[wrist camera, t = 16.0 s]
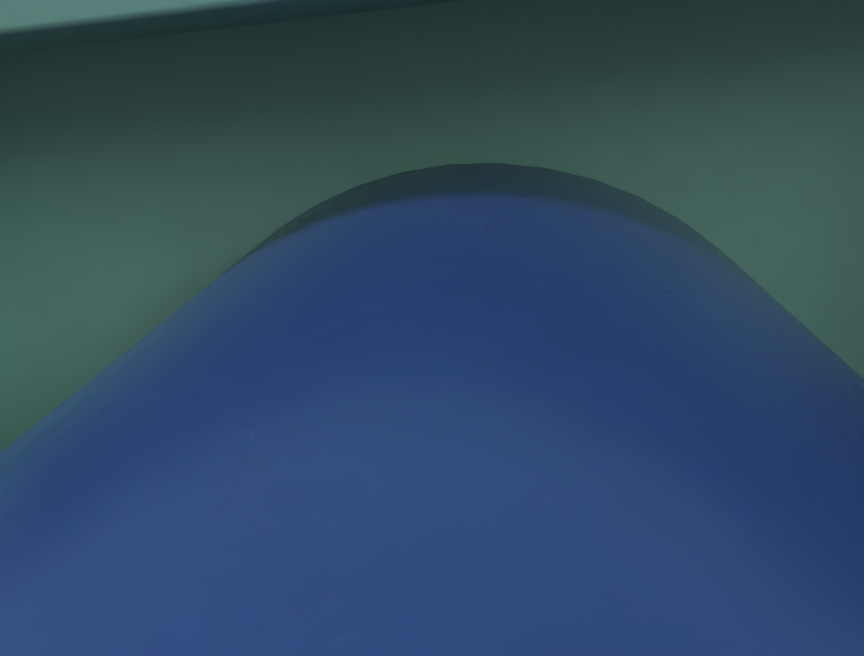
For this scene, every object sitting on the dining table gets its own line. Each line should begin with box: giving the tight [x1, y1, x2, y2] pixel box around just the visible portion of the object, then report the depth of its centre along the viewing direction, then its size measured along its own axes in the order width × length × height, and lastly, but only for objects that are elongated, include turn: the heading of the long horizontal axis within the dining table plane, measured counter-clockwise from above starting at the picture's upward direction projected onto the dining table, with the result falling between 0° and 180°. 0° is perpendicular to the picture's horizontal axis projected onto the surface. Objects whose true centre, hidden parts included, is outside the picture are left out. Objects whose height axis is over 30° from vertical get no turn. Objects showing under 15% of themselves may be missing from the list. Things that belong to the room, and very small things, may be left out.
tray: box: [0, 0, 864, 453], centre depth 12 cm, size 20×17×4 cm
